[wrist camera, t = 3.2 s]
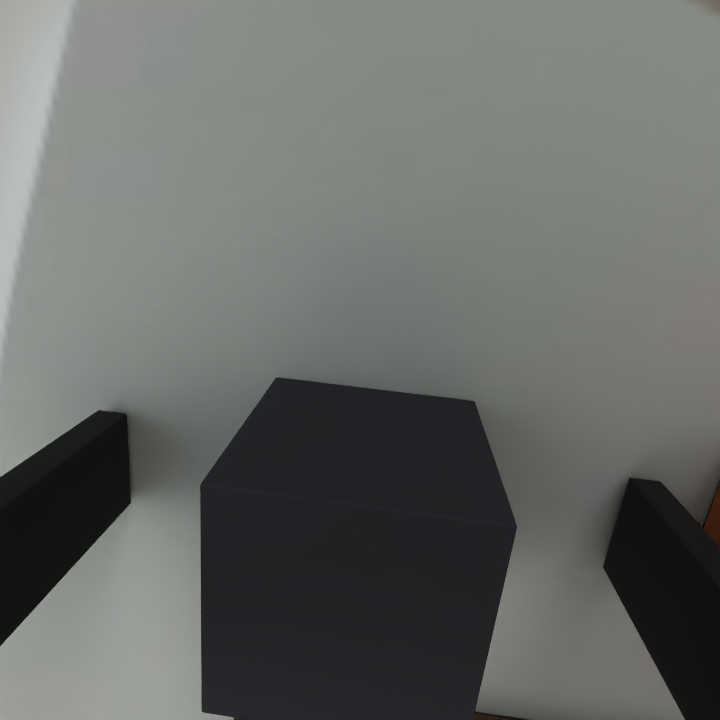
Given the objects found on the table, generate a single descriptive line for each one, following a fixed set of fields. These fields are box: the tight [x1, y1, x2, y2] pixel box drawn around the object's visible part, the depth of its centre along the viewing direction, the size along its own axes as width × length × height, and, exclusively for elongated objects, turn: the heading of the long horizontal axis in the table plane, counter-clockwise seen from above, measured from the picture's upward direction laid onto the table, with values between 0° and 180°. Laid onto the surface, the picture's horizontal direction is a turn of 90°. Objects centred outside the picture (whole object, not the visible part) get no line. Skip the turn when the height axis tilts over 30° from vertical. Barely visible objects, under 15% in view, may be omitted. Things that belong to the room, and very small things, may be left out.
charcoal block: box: [200, 378, 517, 720], centre depth 11 cm, size 5×5×5 cm
